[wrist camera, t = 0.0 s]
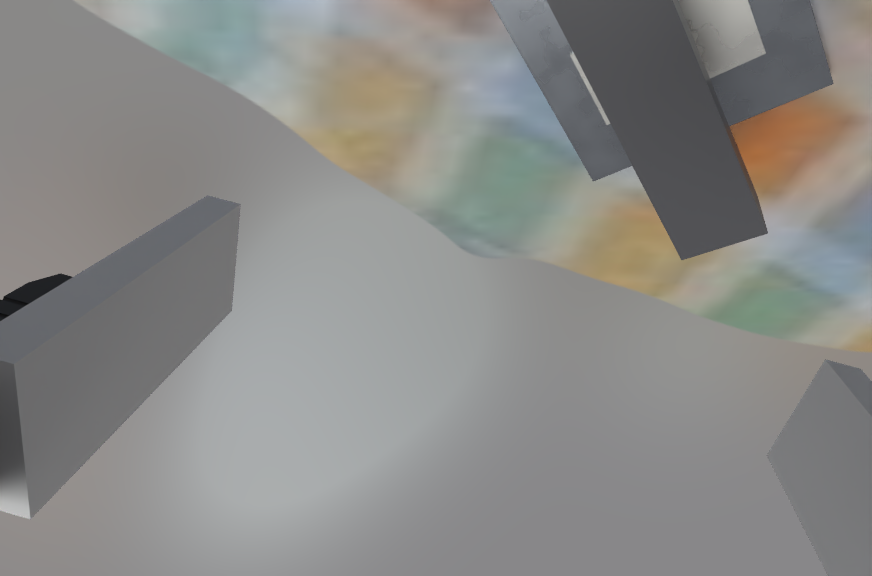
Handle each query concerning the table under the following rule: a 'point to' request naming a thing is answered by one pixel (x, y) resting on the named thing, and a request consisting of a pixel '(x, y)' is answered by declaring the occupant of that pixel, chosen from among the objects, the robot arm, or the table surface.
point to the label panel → (720, 51)
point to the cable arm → (665, 117)
